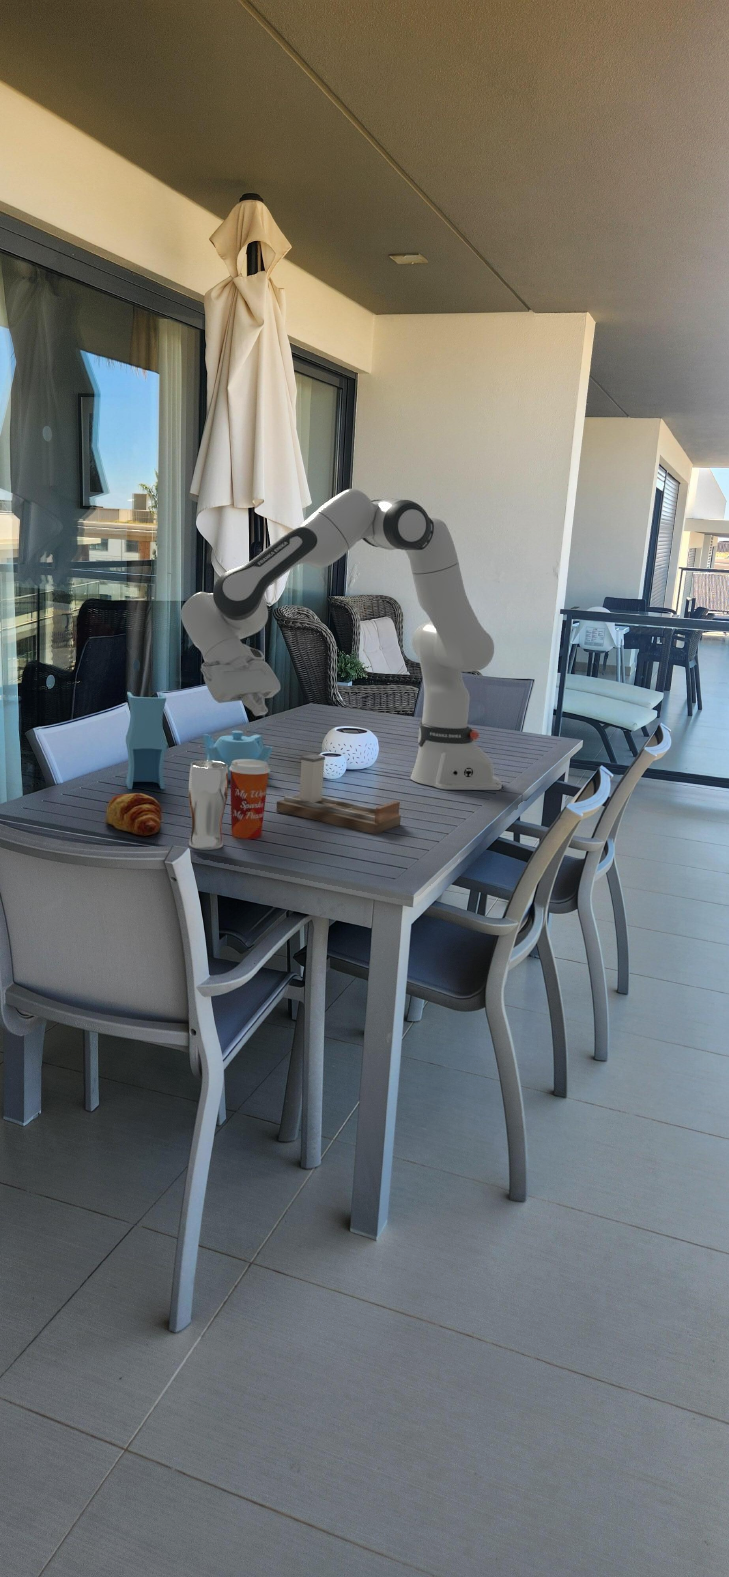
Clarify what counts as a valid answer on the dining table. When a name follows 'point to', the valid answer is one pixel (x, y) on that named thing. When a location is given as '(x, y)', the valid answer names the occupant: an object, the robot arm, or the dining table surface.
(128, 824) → the croissant
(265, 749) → the teapot
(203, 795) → the beer glass
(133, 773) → the vase
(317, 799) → the fader knob
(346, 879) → the dining table surface
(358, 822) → the brown wooden tray
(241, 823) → the paper cup
